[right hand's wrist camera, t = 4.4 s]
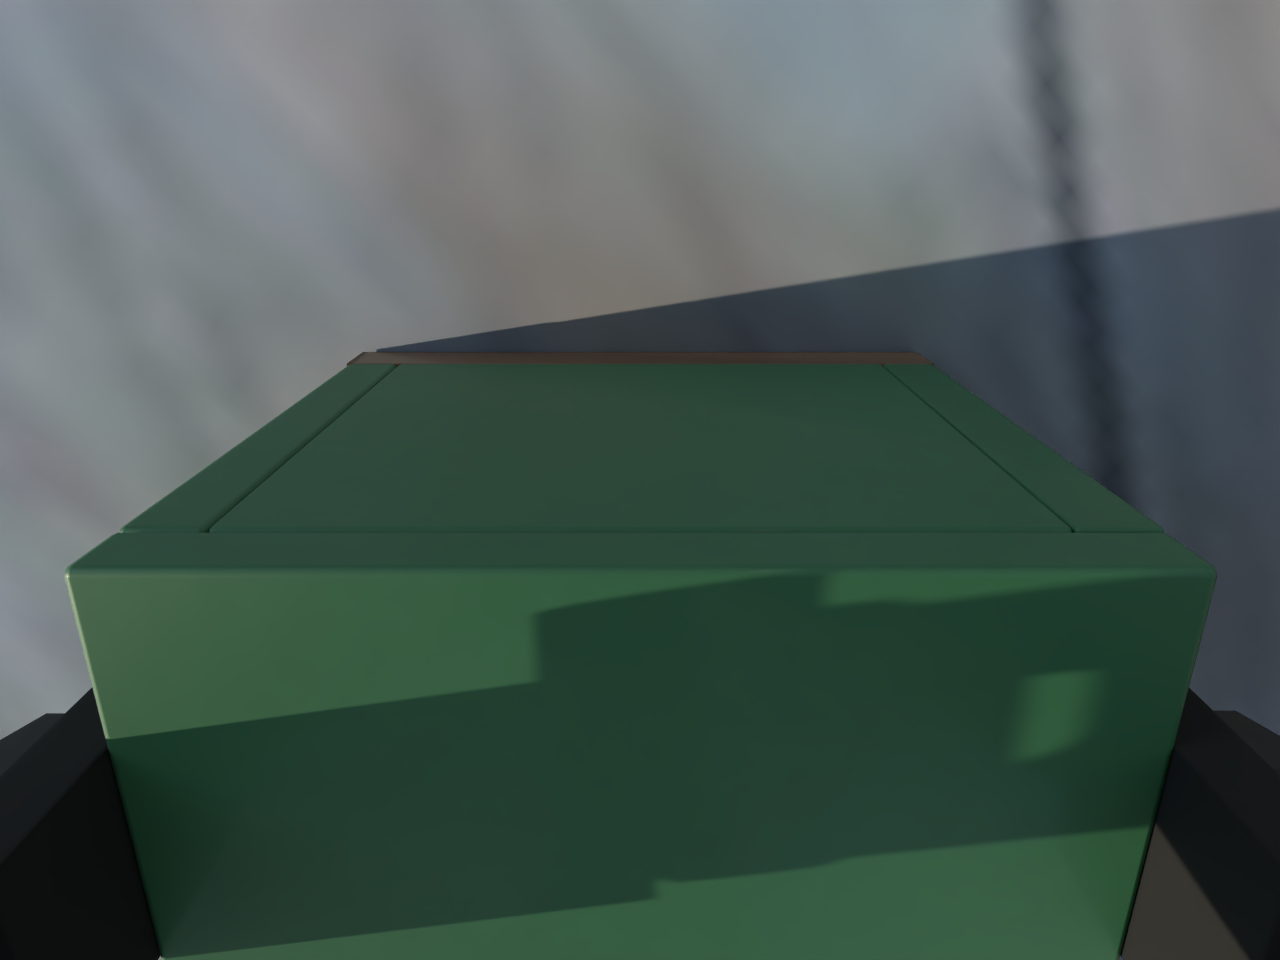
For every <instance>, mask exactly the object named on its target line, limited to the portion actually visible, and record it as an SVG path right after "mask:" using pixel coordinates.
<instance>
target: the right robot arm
mask: <svg viewBox="0 0 1280 960" xmlns="http://www.w3.org/2000/svg"><path fill="white" fill-rule="evenodd" d="M1120 955H1121V957H1122V959H1123V960H1280V736H1279V735H1277V734H1275V733H1273V732H1272V731H1270V730H1268V729H1266V728H1265V727H1263V726H1261V725H1259V724H1258V723H1256V722H1254V721H1252V720H1251V719H1249V718H1247V717H1245V716H1244V715H1242V714H1240V713H1238V712H1237V711H1213V710H1212V709H1211V708H1210V707H1209V706H1207V705H1206V704H1205V703H1204V702H1203V701H1202V700H1201V699H1200V698H1199V697H1198V696H1197V695H1196V694H1195V693H1194V692H1193V691H1192V690H1191V689H1190V688H1188V692H1187V696H1186V699H1185V703H1184V707H1183V711H1182V715H1181V719H1180V723H1179V727H1178V731H1177V735H1176V739H1175V743H1174V746H1173V750H1172V754H1171V758H1170V762H1169V766H1168V770H1167V774H1166V778H1165V782H1164V786H1163V790H1162V793H1161V797H1160V801H1159V805H1158V809H1157V813H1156V817H1155V821H1154V825H1153V829H1152V833H1151V837H1150V840H1149V844H1148V848H1147V852H1146V856H1145V860H1144V864H1143V868H1142V872H1141V876H1140V880H1139V884H1138V887H1137V891H1136V895H1135V899H1134V903H1133V907H1132V911H1131V915H1130V919H1129V923H1128V927H1127V931H1126V934H1125V938H1124V942H1123V946H1122V950H1121V954H1120ZM159 957H160V951H159V947H158V943H157V939H156V935H155V931H154V927H153V923H152V919H151V916H150V912H149V908H148V904H147V900H146V896H145V892H144V888H143V884H142V880H141V876H140V872H139V868H138V864H137V860H136V857H135V853H134V849H133V845H132V841H131V837H130V833H129V829H128V825H127V821H126V817H125V813H124V809H123V805H122V801H121V798H120V794H119V790H118V786H117V782H116V778H115V774H114V770H113V766H112V762H111V758H110V754H109V750H108V746H107V743H106V739H105V735H104V731H103V727H102V723H101V719H100V715H99V711H98V707H97V703H96V699H95V695H94V691H93V687H92V688H91V689H90V690H89V691H88V692H87V693H86V694H85V695H84V696H83V697H82V698H81V699H80V700H79V701H78V702H77V703H76V704H75V705H74V706H72V707H71V708H70V709H69V710H68V711H67V712H66V713H65V714H45V715H43V716H41V717H40V718H38V719H36V720H34V721H33V722H31V723H29V724H27V725H26V726H24V727H22V728H20V729H19V730H17V731H15V732H13V733H12V734H10V735H8V736H7V737H5V738H3V739H1V740H0V960H158V959H159Z"/></svg>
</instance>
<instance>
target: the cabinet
mask: <svg viewBox="0 0 1280 960" xmlns="http://www.w3.org/2000/svg"><path fill="white" fill-rule="evenodd" d="M1216 578H1217V575H1216V570H1215V568H1214V567H1213V566H1212V565H1210V564H1209V563H1208V562H1206V561H1205V560H1203V559H1202V558H1201V557H1199V556H1198V555H1196V554H1195V553H1194V552H1192V551H1191V550H1189V549H1188V548H1187V547H1185V546H1184V545H1182V544H1181V543H1179V542H1178V541H1177V540H1175V539H1174V538H1172V537H1171V536H1170V535H1167V534H1165V533H1164V530H1163V528H1162V527H1160V526H1159V525H1158V524H1156V523H1155V522H1153V521H1152V520H1150V519H1149V518H1148V517H1146V516H1145V515H1143V514H1142V513H1141V512H1139V511H1138V510H1136V509H1135V508H1133V507H1132V506H1131V505H1129V504H1128V503H1126V502H1125V501H1124V500H1122V499H1121V498H1119V497H1118V496H1117V495H1115V494H1114V493H1112V492H1111V491H1109V490H1108V489H1107V488H1105V487H1104V486H1102V485H1101V484H1100V483H1098V482H1097V481H1095V480H1094V479H1092V478H1091V477H1090V476H1088V475H1087V474H1085V473H1084V472H1083V471H1081V470H1080V469H1078V468H1077V467H1076V466H1074V465H1073V464H1071V463H1070V462H1068V461H1067V460H1066V459H1064V458H1063V457H1061V456H1060V455H1059V454H1057V453H1056V452H1054V451H1053V450H1051V449H1050V448H1049V447H1047V446H1046V445H1044V444H1043V443H1042V442H1040V441H1039V440H1037V439H1036V438H1035V437H1033V436H1032V435H1030V434H1029V433H1027V432H1026V431H1025V430H1023V429H1022V428H1020V427H1019V426H1018V425H1016V424H1015V423H1013V422H1012V421H1011V420H1009V419H1008V418H1006V417H1005V416H1003V415H1002V414H1001V413H999V412H998V411H996V410H995V409H994V408H992V407H991V406H989V405H988V404H986V403H985V402H984V401H982V400H981V399H979V398H978V397H977V396H975V395H974V394H972V393H971V392H970V391H968V390H967V389H965V388H964V387H962V386H961V385H960V384H958V383H957V382H955V381H954V380H953V379H951V378H950V377H948V376H947V375H945V374H944V373H943V372H941V371H940V370H938V369H937V368H936V367H934V366H933V363H931V362H930V361H929V360H927V359H926V358H924V357H923V356H921V355H920V354H919V353H917V352H363V353H361V354H360V355H359V356H357V357H356V358H354V359H353V360H351V361H350V362H349V363H347V367H346V368H344V369H343V370H342V371H340V372H339V373H337V374H336V375H335V376H333V377H332V378H330V379H329V380H328V381H326V382H325V383H323V384H322V385H321V386H319V387H318V388H316V389H315V390H314V391H312V392H311V393H309V394H308V395H307V396H305V397H304V398H302V399H301V400H300V401H298V402H297V403H295V404H294V405H293V406H291V407H290V408H288V409H287V410H286V411H284V412H283V413H281V414H280V415H279V416H277V417H276V418H274V419H273V420H272V421H270V422H269V423H267V424H266V425H265V426H263V427H262V428H260V429H259V430H258V431H256V432H255V433H253V434H252V435H251V436H249V437H248V438H246V439H245V440H244V441H242V442H241V443H239V444H238V445H237V446H235V447H234V448H232V449H231V450H230V451H228V452H227V453H225V454H224V455H223V456H221V457H220V458H218V459H217V460H216V461H214V462H213V463H211V464H210V465H209V466H207V467H206V468H204V469H203V470H202V471H200V472H199V473H197V474H196V475H195V476H193V477H192V478H190V479H189V480H188V481H186V482H185V483H183V484H182V485H181V486H179V487H178V488H176V489H175V490H174V491H172V492H171V493H169V494H168V495H167V496H165V497H164V498H162V499H161V500H160V501H158V502H157V503H155V504H154V505H153V506H151V507H150V508H148V509H147V510H146V511H144V512H143V513H141V514H140V515H139V516H137V517H136V518H134V519H133V520H132V521H130V522H129V523H127V524H126V525H125V526H123V527H122V528H121V530H120V533H116V534H114V535H112V536H110V537H109V538H107V539H106V540H105V541H103V542H102V543H100V544H99V545H98V546H96V547H95V548H93V549H92V550H91V551H89V552H88V553H86V554H85V555H84V556H82V557H81V558H79V559H78V560H77V561H75V562H74V563H72V564H71V565H70V566H68V567H67V569H66V571H65V581H66V585H67V589H68V593H69V597H70V601H71V605H72V609H73V613H74V617H75V621H76V625H77V628H78V632H79V636H80V640H81V644H82V648H83V652H84V656H85V660H86V664H87V668H88V672H89V676H90V680H91V684H92V687H93V691H94V695H95V699H96V703H97V707H98V711H99V715H100V719H101V723H102V727H103V731H104V735H105V739H106V743H107V746H108V750H109V754H110V758H111V762H112V766H113V770H114V774H115V778H116V782H117V786H118V790H119V794H120V798H121V801H122V805H123V809H124V813H125V817H126V821H127V825H128V829H129V833H130V837H131V841H132V845H133V849H134V853H135V857H136V860H137V864H138V868H139V872H140V876H141V880H142V884H143V888H144V892H145V896H146V900H147V904H148V908H149V912H150V916H151V919H152V923H153V927H154V931H155V935H156V939H157V943H158V947H159V951H160V955H161V959H162V960H1119V958H1120V954H1121V950H1122V946H1123V942H1124V938H1125V934H1126V931H1127V927H1128V923H1129V919H1130V915H1131V911H1132V907H1133V903H1134V899H1135V895H1136V891H1137V887H1138V884H1139V880H1140V876H1141V872H1142V868H1143V864H1144V860H1145V856H1146V852H1147V848H1148V844H1149V840H1150V837H1151V833H1152V829H1153V825H1154V821H1155V817H1156V813H1157V809H1158V805H1159V801H1160V797H1161V793H1162V790H1163V786H1164V782H1165V778H1166V774H1167V770H1168V766H1169V762H1170V758H1171V754H1172V750H1173V746H1174V743H1175V739H1176V735H1177V731H1178V727H1179V723H1180V719H1181V715H1182V711H1183V707H1184V703H1185V699H1186V696H1187V692H1188V688H1189V684H1190V680H1191V676H1192V672H1193V668H1194V664H1195V660H1196V656H1197V652H1198V649H1199V645H1200V641H1201V637H1202V633H1203V629H1204V625H1205V621H1206V617H1207V613H1208V609H1209V605H1210V602H1211V598H1212V594H1213V590H1214V586H1215V582H1216Z"/></svg>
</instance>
